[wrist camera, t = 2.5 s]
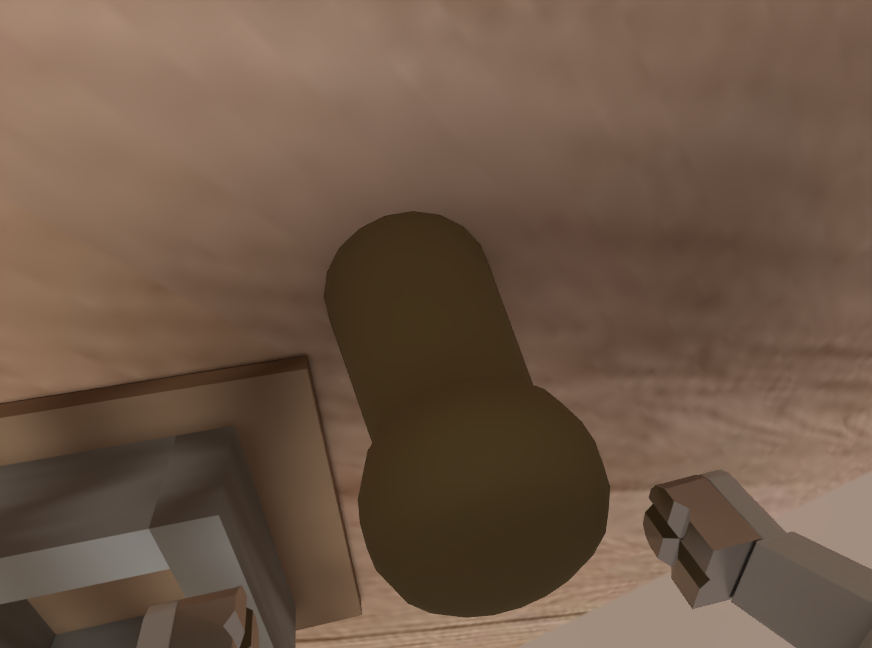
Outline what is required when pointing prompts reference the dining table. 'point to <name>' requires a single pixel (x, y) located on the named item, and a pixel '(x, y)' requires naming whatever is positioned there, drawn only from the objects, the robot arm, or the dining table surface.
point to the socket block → (170, 507)
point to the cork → (457, 427)
